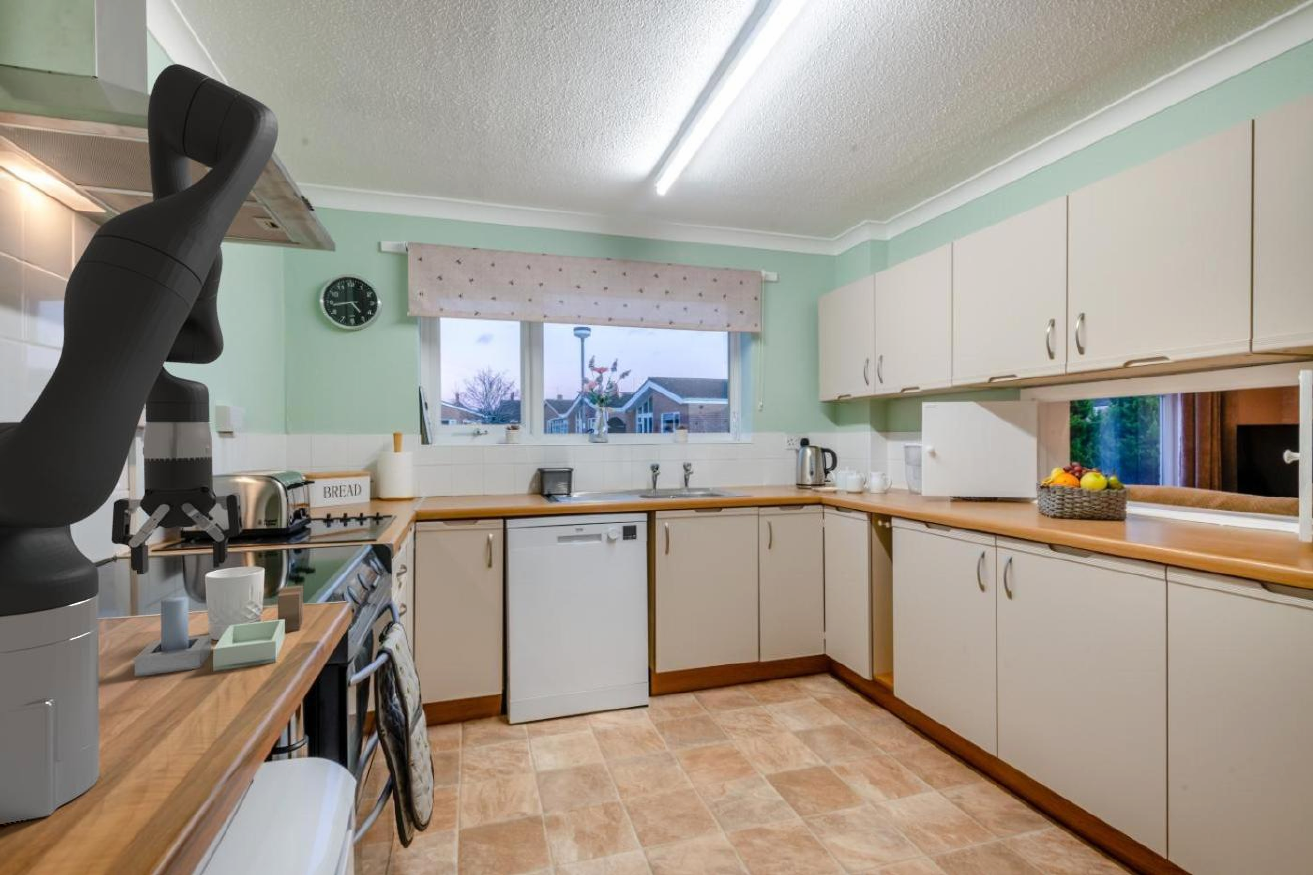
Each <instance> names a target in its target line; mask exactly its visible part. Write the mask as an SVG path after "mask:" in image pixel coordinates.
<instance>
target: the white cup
mask: <svg viewBox="0 0 1313 875" xmlns="http://www.w3.org/2000/svg"><path fill="white" fill-rule="evenodd" d="M204 575H205V576H204V582H205V584H204V585H205V601H206V610H207V611H206V613H207V620H208V622H209V623H208V630H209V634H208V635H211V640H215V641H219V640H220V639H221V637H222V636H223V634H224V633H225V631H226V630H227V629H228V627H229V626H230V625H238V624H247V623H255V622H262V614H263V605H264V593H265V592H264V587H265V568H264V567H261V566H238V567H228V568H222V569H217V570H214V571H210V572H207V573H206V574H204Z"/></svg>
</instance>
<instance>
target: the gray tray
mask: <svg viewBox="0 0 1313 875" xmlns="http://www.w3.org/2000/svg"><path fill="white" fill-rule="evenodd" d="M211 653H212V638H211V635H209V634H206V635H198V636H197V635H196V636H189V649H182V650H174V651H166V652H161V640H155V641H151V642H149V643H148V645H146V646H145V648H143V650H141V652H139V653H138V655H137V656H136V657H134V677H135V678H137V677H145V676H153V675H158V674H159V675H161V674H166V673H174V672H181V671H188V670H195V669H200V668H201V667H202V666H203V664H204V663H205V662H206V660H207V658H208V657H209V656H210V654H211Z"/></svg>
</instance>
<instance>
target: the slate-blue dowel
mask: <svg viewBox="0 0 1313 875" xmlns="http://www.w3.org/2000/svg"><path fill="white" fill-rule="evenodd" d="M189 625H190V624H189V597H188V596H176V597H175V596H174V597H170V598H165V599H162V600H161V601H160V641H161V652H166V651H174V650H182V649H189V637H190V634H189V632H190V630H189V628H190V626H189Z"/></svg>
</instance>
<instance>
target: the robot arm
mask: <svg viewBox="0 0 1313 875" xmlns="http://www.w3.org/2000/svg"><path fill="white" fill-rule="evenodd" d="M147 109H148V110H147V138H148V152H149V154H148V155H149V156H148V157H149V166H150V168H149V170H150V180H151V182H150V183H151V191H152V200H153V201H150V202H147V203H144V204H141V205H138V206H136V207H134V208H131V209H128V210H126V211H124V212H121V213H119V214H118V215H116V216H114V217H111V218H110V219H109V220H107V221H106V222H105V223H103V224H101V225H100V227H99V228H98V229H97V230H96V232H94V234H93V236H92V238H91V239H90V241H89V243H88V244H87V247H85V250H84V251H83V253H82V255H81V256H80V258H79V260H78V261H77V262H76V265H75V266H74V268H73V270H71V271H72V272H71V273H70V276H69V277H68V281H67V284H66V287H65V292H64V298H63V342H62V343H63V344H62V349H61V354H60V357H59V360H58V363H57V364H56V367H55V369H54V371H53V373H52V375H51V376H50V377H49V378H50V379H49V380H48V381H47V383H46V385H45V386H44V388H43V390H42V391H41V393H40V394H39V395H38V398H37V399H36V401H35V402H34V403H33V405H32V406H31V407H30V409H29V410H28V411H27V413H26V414H25V415H24V417H23V418H22V419H21V420H20V421H12V422H11V421H10V422H9V421H8V422H7V421H6V422H5V421H3V422H2V421H1V422H0V822H2V823H5V822H6V823H7V822H9V824H11V823H10V822H14V821H15V822H14V823H17V822H16V821H18V820H20V821H19V822H22V821H21V820H23V821H28V820H32V819H38V818H42V817H47V816H50V815H51V814H52V815H53V813H54V812H55V811H56V810H57V809H58V808H59V807H61V806H62V805H64V804H66V803H68V802H70V801H72V800H74V799H76V798H77V797H79V796H80V795H82V794H84V793H85V792H87V791H88V790H89V789H90V788H92V787H93V786H94V785H95V783H96V782H97V781H98V780H99V776H100V725H99V724H100V722H99V721H100V717H99V716H100V714H99V711H100V709H99V708H100V707H99V706H100V705H99V704H100V703H99V700H100V698H99V696H100V694H99V693H100V692H99V689H100V688H99V685H100V684H99V675H100V674H99V584H100V583H99V571H98V570H99V569H98V567H97V566H96V564H95V563H94V562H93V561H92V560H90V559H89V558H88V557H87V556H86V555H85V554H83V553H82V551H80V550H79V548H78V547H77V545H76V543H75V541H74V539H73V537H72V532H71V531H72V528H71V525H73V524H76V523H80V522H81V521H84V520H85V519H87V518H88V517H90V516H92V515H93V514H94V513H96V512H97V511H98V510H100V509H101V507H102V506H103V505H104V504H105V503H106V502H107V501H108V499H109V498H110V497H111V496H112V494H113V492H114V490H116V487H117V485H118V483H119V481H120V477H121V475H122V473H123V471H124V469H125V465H126V462H127V459H128V456H129V453H130V450H131V447H132V444H133V440H134V437H135V435H136V432H137V429H138V426H139V422H140V421H141V417H142V414H143V412H144V410H145V422H146V423H145V425H144V426H145V427H144V433H143V434H144V435H143V447H142V455H143V475H144V476H143V478H144V479H143V480H144V481H143V482H144V483H143V485H144V486H143V489H144V495H143V497H142V498H141V499H138V498H137V499H136V498H135V499H134V498H133V499H131V498H129V497H124V498H119V499H117V500H114V501H113V508H112V509H113V511H112V525H111V526H112V527H111V542H112V544H114V545H123V546H124V545H125V546H128V547H129V548H130V568H131V569H132V572H133V571H135V572H136V575H146V573H148V572H149V544H146V542H147V541H148V540H149V539H150V537H152V536H153V534H155V532H156V531H157V530H159V528H160V527H161V528H163V529H164V530H165V529H173V528H176V527H181V528H193V527H195V526H197V525H198V526H199V527H200V528H201V529H202V530H203V531H204V532H206V533H208V535H209V536H211V538H213V539H214V541H213V542H212V567H213V569H216V568H217V569H218V568H221V567H222V566H223V564H225V563H226V561H227V560H228V558H229V557H228V556H229V555H228V552H229V550H228V548H229V547H228V540H229V539H230V538H232V537H236V536H238V535H239V534H240V533H242V531H243V527H244V526H243V517H242V506H241V505H242V504H241V496H240V494H239V493H237V492H234V493H231V494H227V495H225V494H224V495H216V494H215V492H214V489H213V487H214V485H213V483H214V482H213V476H214V474H213V473H214V472H213V437H212V432H211V431H212V430H211V425H210V424H211V423H210V393H209V392H210V391H209V388H208V386H207V385H206V384H204V383H202V382H200V381H196V380H191V379H185V378H183V377H178V376H176V375H175V376H174V375H173V374H171V373H170V372H169V371H168V370H167V369H166V368H165V367H164V366H165V363H174V364H175V363H176V364H177V363H178V364H193V365H207V364H212V363H213V362H215V361H216V360H218V358H220V357H221V355H222V353H223V352H224V347H225V346H224V342H225V341H224V336H223V332H222V328H221V324H220V321H219V316H218V301H217V300H218V293H219V288H220V283H221V278H222V272H223V264H224V259H223V252H222V251H223V250H222V247H221V245H222V243H223V241H224V238H225V237H226V234H227V232H228V231H229V228H230V227H231V225H232V223H233V222H234V220H235V218H236V216H237V215H238V213H239V211H240V210H241V208H242V206H243V205H244V204H245V201H246V200H247V199H248V197H249V195H250V194H251V192H252V190H253V189H254V187H255V185H256V184H257V182H258V180H259V179H260V177H261V176H262V174H263V172H264V171H265V169H266V167H267V165H268V163H269V161H270V159H271V157H272V154H273V153H274V150H275V147H276V144H277V142H278V141H277V140H278V135H279V124H278V119H277V117H276V114H275V113H274V112H273V110H271V108H270V107H269V106H267V105H265V104H264V103H262V102H260V101H259V100H257V99H255V98H253V97H252V96H249V95H248V94H246V93H243V92H242V91H239V90H238V89H235V88H233V87H232V86H229V85H227V84H225V83H223V82H221V81H219V80H217V79H214V78H213V77H210V76H208V75H207V74H204V73H202V72H200V71H198V70H196V69H194V68H191V67H189V66H186V65H184V64H180V63H178V64H177V63H174V64H170V65H168V66H167V67H165V68H164V69H163V70H162V71H161V72H160V73H159V74H158V76H157V78H156V79H155V82H154V84H153V85H152V89H151V92H150V95H149V102H148V108H147ZM190 160H192V161H195V162H197V163H198V164H199V163H200V164H202V165H204V166H206V167H208V168H211V169H210V170H209V171H208V172H207V173H206V174H205V175H204V176H203V177H202V178H200V179H199V180H198V181H197V182H195V183H193V180H192V175H191V168H190ZM144 408H145V409H144ZM217 504H218V505H220V506H221V509H223V510H224V511H226V512H227V523H228V524H227V525H228V528H226V529H225V528H224V527H223V526H222V525H221V524H220V523H219V521H218V520H217V519H216V517H214V516H213V515H212V514H211V513H210V512H211V511H212V510H213V509H214V507H215V506H216V505H217ZM138 508H141V509H142V511H143V512H144V513H146V515H147V516H148V517H149V518H148V519H147V520H146V521H145V522H144V524H142V525H141V527H140V528H139V530H138V531H137V532H136V533H135V534H131V522H132V521H131V520H132V519H131V518H132V515H134V514H135V513H136V512H138V511H137V510H138ZM27 819H28V820H27Z"/></svg>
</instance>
